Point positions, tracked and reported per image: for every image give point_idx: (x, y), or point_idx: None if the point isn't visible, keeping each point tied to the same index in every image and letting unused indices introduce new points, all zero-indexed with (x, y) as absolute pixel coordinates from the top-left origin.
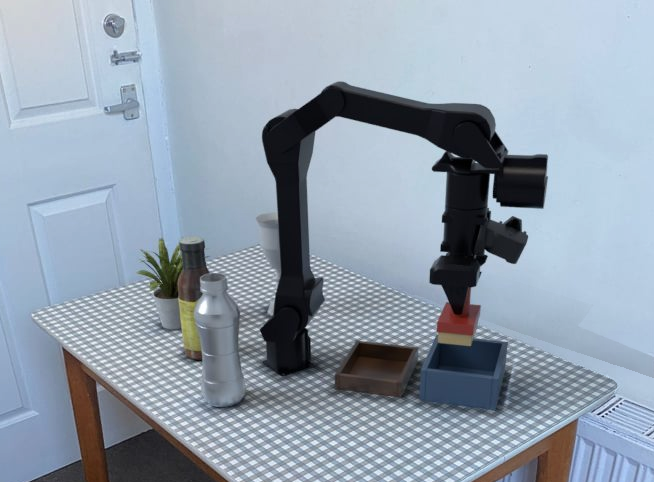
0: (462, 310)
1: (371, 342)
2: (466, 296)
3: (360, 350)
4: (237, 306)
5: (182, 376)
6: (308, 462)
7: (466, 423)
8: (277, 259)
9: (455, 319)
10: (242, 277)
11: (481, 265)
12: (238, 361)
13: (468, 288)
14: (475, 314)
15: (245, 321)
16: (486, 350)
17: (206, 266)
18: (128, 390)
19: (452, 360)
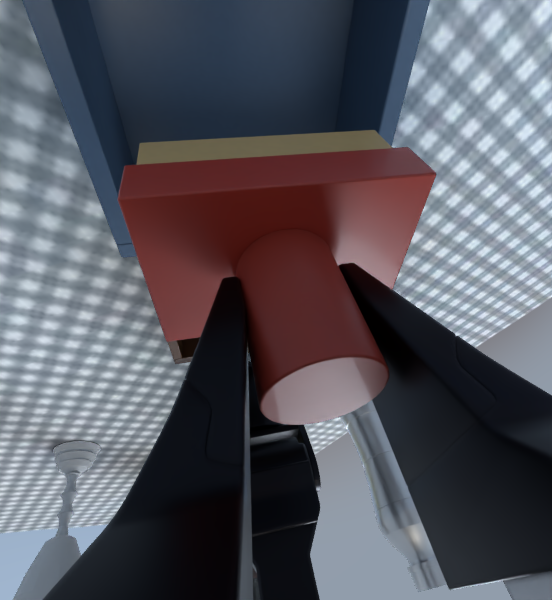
0: (370, 275)
1: (170, 345)
2: (404, 330)
3: (181, 342)
4: (416, 524)
5: (305, 428)
6: (508, 274)
7: (431, 34)
8: (76, 558)
9: (358, 265)
10: (3, 507)
11: (240, 577)
12: (384, 432)
13: (473, 380)
14: (285, 196)
15: (139, 454)
16: (80, 44)
17: (255, 575)
18: (340, 436)
19: (129, 161)
